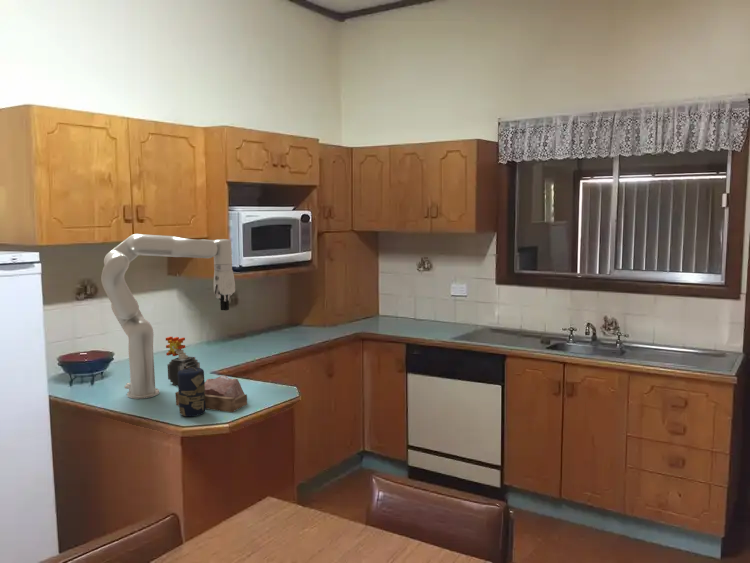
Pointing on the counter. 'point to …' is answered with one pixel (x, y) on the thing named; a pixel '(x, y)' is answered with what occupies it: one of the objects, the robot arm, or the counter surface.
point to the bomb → (178, 359)
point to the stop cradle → (222, 402)
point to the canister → (191, 391)
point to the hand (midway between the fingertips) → (224, 309)
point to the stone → (223, 387)
